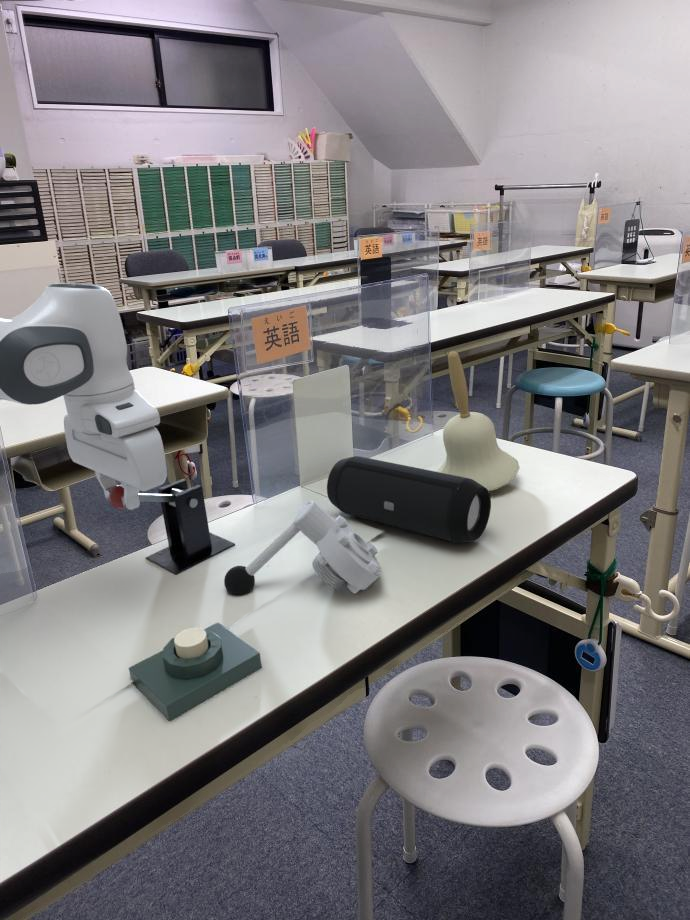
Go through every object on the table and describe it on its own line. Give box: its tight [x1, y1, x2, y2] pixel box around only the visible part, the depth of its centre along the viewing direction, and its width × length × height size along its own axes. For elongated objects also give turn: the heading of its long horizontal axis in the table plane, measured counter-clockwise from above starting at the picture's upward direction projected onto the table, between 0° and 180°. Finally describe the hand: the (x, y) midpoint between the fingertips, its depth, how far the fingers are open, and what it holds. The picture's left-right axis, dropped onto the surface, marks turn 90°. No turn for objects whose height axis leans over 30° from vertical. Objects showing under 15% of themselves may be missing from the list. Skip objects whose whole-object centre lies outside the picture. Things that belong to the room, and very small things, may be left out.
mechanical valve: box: [223, 500, 383, 596], centre depth 94 cm, size 10×18×15 cm
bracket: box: [145, 478, 236, 576], centre depth 103 cm, size 11×8×12 cm
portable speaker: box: [326, 455, 492, 544], centre depth 109 cm, size 26×10×10 cm, turn 54°
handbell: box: [436, 350, 520, 492], centre depth 120 cm, size 15×15×25 cm
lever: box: [108, 484, 187, 510], centre depth 98 cm, size 13×3×3 cm, turn 137°
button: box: [173, 627, 208, 659], centre depth 77 cm, size 4×4×2 cm
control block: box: [128, 622, 263, 722], centre depth 78 cm, size 12×9×4 cm
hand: (123, 503), depth 95 cm, fingers closed on lever, 3 cm apart
